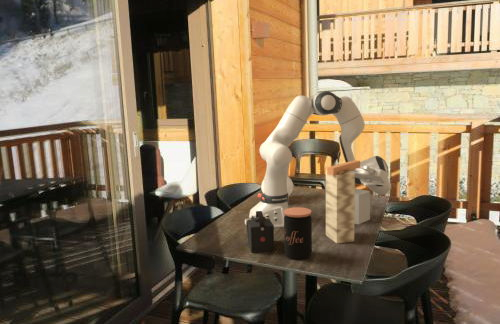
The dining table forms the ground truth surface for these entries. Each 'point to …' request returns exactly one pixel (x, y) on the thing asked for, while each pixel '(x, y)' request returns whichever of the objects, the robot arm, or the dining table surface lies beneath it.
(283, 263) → the dining table surface
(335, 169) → the block
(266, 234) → the camera
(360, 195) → the step
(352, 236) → the stand
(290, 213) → the coffee jar
